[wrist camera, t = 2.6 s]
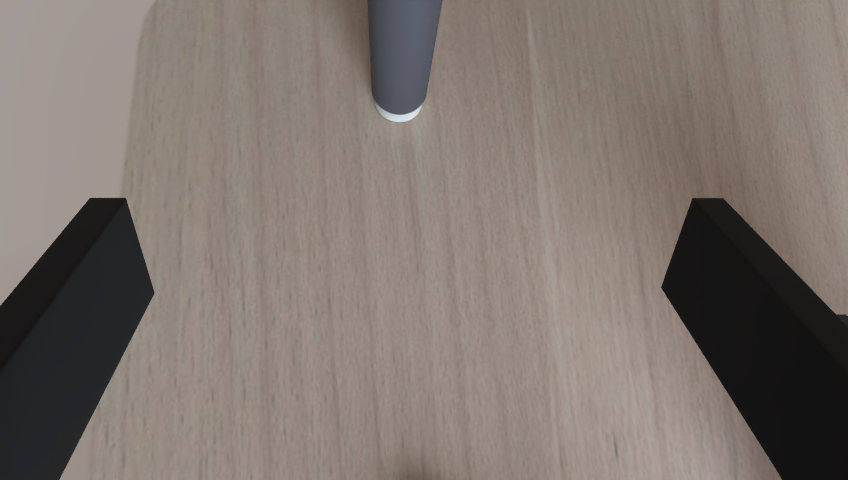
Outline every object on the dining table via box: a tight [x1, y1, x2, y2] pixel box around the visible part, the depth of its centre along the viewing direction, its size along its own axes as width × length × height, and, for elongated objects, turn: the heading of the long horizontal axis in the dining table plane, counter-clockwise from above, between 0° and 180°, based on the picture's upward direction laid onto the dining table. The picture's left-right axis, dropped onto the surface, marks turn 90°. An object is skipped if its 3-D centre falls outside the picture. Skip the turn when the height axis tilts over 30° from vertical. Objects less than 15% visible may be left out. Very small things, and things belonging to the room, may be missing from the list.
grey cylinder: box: [368, 0, 442, 122], centre depth 24 cm, size 3×3×12 cm
